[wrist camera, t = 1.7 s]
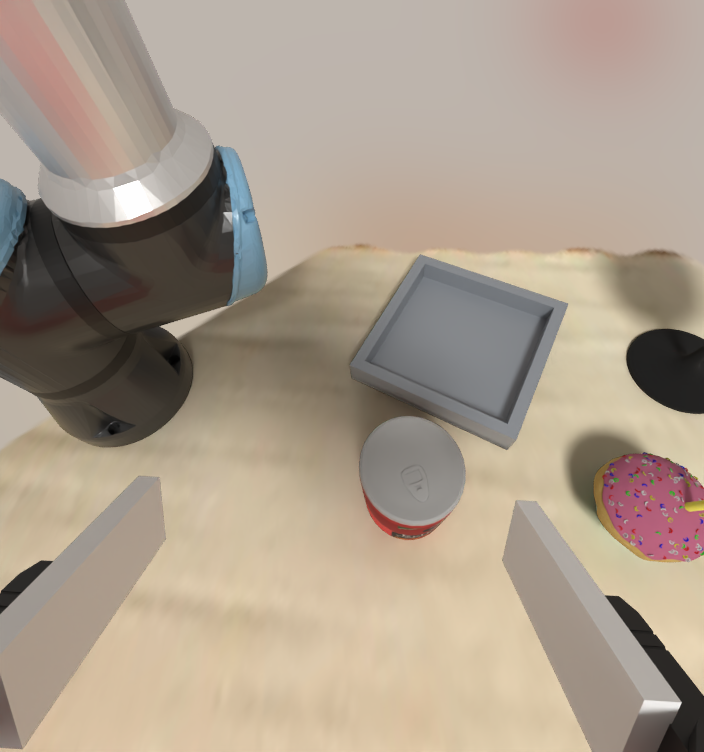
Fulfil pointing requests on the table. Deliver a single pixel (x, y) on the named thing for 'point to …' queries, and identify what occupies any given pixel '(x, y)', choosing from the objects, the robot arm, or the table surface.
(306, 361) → the table surface
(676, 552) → the cupcake
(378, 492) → the canned food
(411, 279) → the tray
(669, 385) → the wine glass
